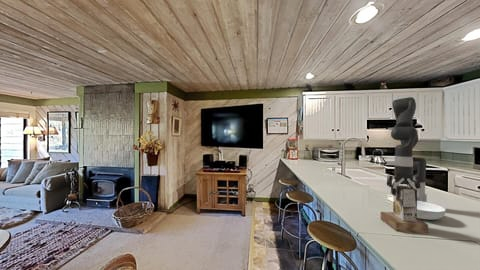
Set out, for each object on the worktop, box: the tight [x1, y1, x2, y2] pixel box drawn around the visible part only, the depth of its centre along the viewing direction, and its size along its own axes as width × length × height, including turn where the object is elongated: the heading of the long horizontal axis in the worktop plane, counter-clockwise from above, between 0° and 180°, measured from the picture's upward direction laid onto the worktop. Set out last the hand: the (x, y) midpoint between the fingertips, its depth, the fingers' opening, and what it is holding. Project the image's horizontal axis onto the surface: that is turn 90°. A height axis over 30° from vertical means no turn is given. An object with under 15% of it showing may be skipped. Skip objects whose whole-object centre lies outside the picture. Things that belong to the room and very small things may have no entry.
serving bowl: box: [417, 201, 447, 221], centre depth 117 cm, size 21×21×7 cm
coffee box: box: [392, 184, 418, 222], centre depth 104 cm, size 9×6×16 cm
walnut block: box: [380, 211, 429, 235], centre depth 104 cm, size 14×14×5 cm
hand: (403, 195), depth 104 cm, fingers open, 8 cm apart
